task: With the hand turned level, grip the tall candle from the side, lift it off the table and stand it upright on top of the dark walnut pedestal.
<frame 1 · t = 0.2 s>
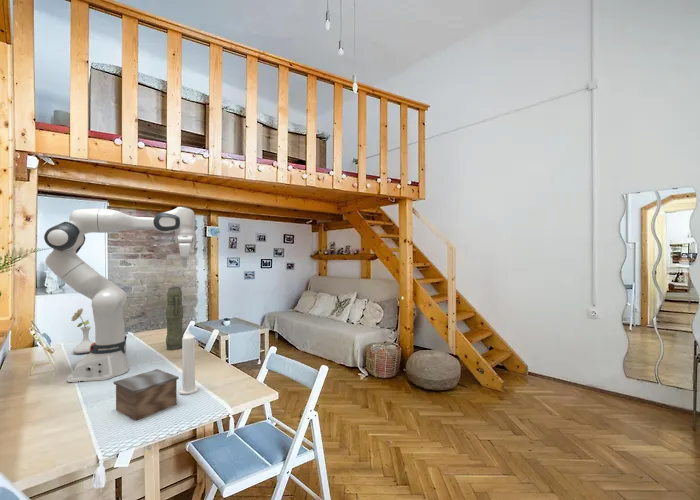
hand: (184, 267, 168), 48 cm above the table, tool pointing down, fingers open, 8 cm apart
coffee mug: (113, 356, 181), on the table
candle: (188, 391, 135), on the table
flower in vase: (84, 352, 187), on the table
thermos: (174, 348, 195), on the table
walnut pedestal: (146, 406, 122), on the table
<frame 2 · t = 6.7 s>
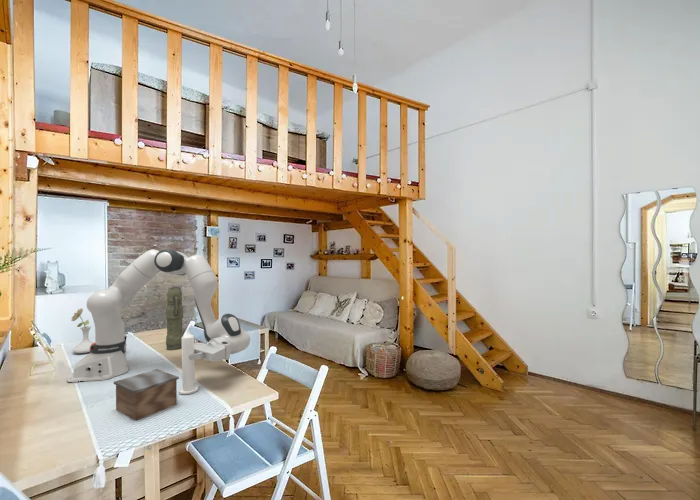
hand: (186, 356, 134), 14 cm above the table, tool horizontal, fingers closed on candle, 3 cm apart
candle: (188, 391, 135), on the table, touching gripper
everything else where it was.
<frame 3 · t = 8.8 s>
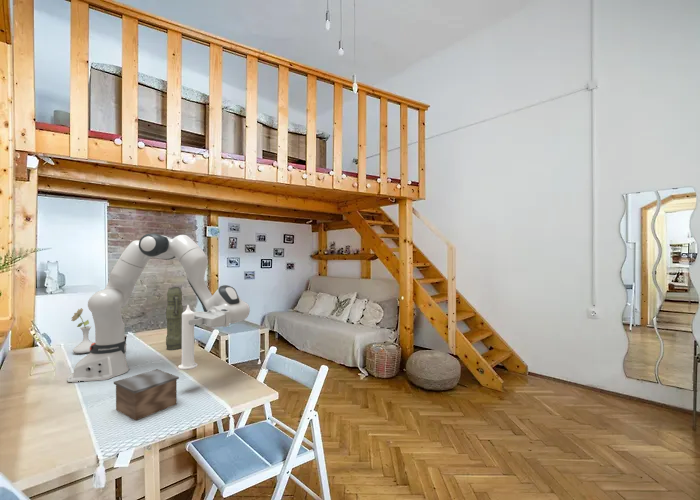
hand: (186, 322, 134), 28 cm above the table, tool horizontal, fingers closed on candle, 2 cm apart
candle: (187, 367, 135), point 9 cm above the table, touching gripper
everything else where it was.
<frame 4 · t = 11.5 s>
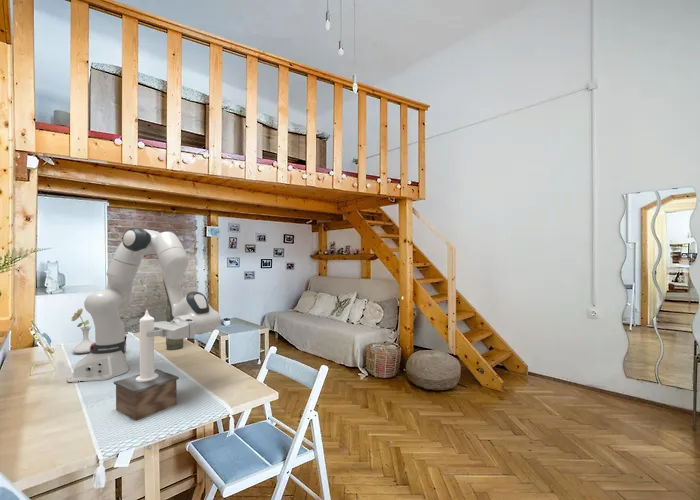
hand: (144, 334, 121), 27 cm above the table, tool horizontal
candle: (147, 379, 122), point 10 cm above the table, touching gripper, walnut pedestal
everything else where it was.
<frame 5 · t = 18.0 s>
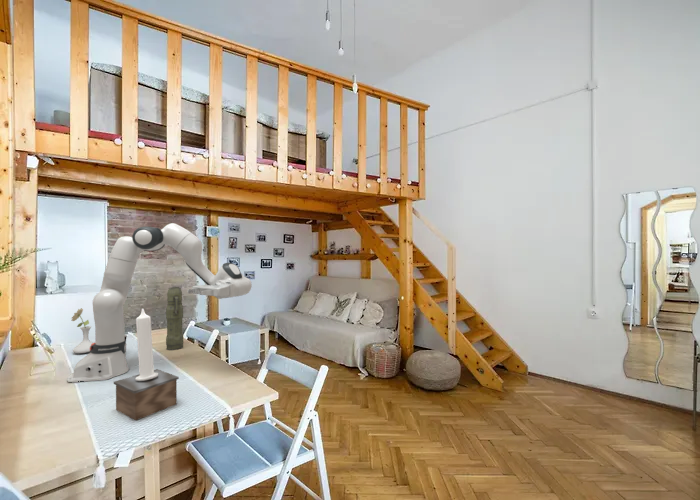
hand: (194, 292, 148), 38 cm above the table, tool horizontal, fingers open, 8 cm apart
candle: (147, 378, 122), point 10 cm above the table, touching walnut pedestal
everything else where it was.
at the end: candle inside the target area on the walnut pedestal (0.4 cm from its centre), point 9.9 cm above the walnut pedestal's base; candle tilted 2°; the gripper is holding nothing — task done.
